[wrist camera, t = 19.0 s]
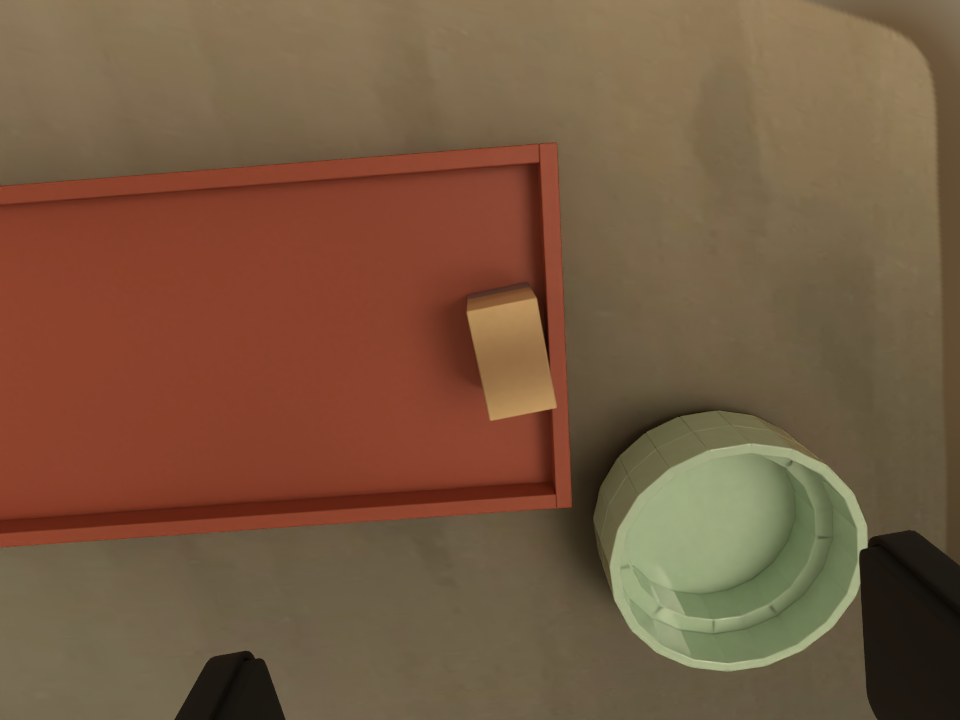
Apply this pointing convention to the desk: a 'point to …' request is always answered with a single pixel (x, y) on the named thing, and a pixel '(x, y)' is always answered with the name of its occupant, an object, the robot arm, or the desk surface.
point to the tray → (272, 346)
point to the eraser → (510, 351)
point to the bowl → (727, 541)
